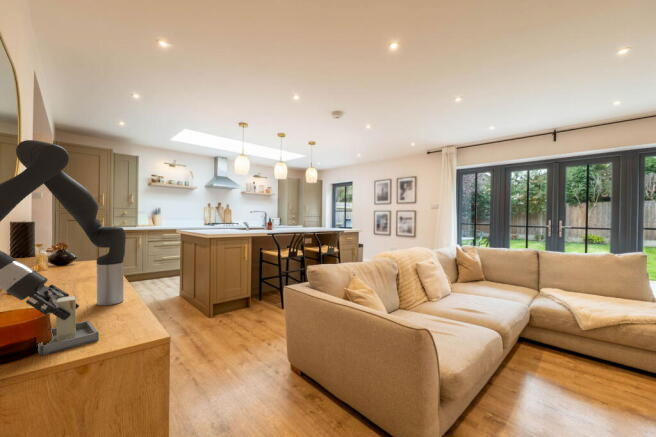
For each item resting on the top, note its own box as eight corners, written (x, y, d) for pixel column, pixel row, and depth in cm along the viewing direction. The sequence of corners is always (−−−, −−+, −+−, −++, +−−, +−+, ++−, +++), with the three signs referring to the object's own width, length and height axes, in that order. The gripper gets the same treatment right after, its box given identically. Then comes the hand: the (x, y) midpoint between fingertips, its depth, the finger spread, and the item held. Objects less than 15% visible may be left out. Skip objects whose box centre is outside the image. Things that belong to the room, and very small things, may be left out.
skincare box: (76, 339, 84) (75, 299, 84) (56, 344, 81) (55, 302, 81) (75, 333, 89) (75, 295, 89) (56, 336, 86) (56, 297, 86)
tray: (35, 340, 85) (35, 332, 85) (88, 327, 95) (88, 320, 95) (39, 356, 76) (39, 347, 76) (98, 340, 85) (98, 332, 85)
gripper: (21, 274, 75) (77, 309, 81) (42, 265, 87) (89, 297, 93) (-8, 297, 72) (52, 331, 78) (18, 284, 85) (68, 315, 91)
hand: (72, 312), depth 86 cm, fingers open, 8 cm apart
